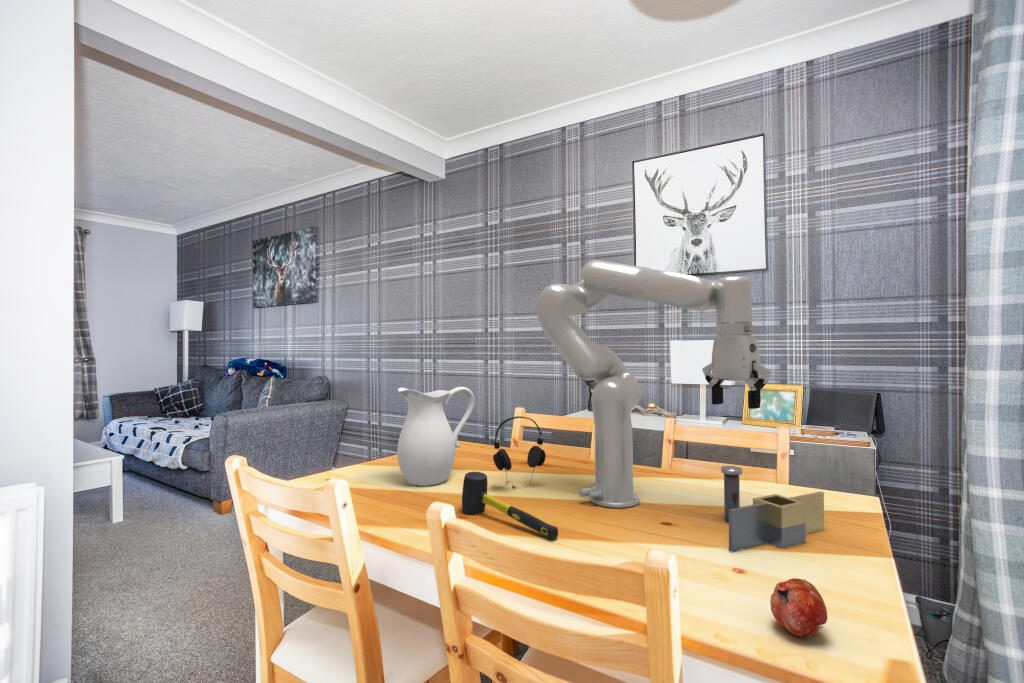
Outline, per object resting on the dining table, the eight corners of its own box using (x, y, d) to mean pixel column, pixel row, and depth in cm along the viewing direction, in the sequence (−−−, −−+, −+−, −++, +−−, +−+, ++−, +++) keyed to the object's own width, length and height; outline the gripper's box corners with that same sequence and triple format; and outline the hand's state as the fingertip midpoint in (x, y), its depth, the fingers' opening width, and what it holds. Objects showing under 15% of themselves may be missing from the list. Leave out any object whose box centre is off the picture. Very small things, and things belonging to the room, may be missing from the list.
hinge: (744, 558, 97) (744, 515, 97) (717, 545, 103) (716, 505, 103) (837, 534, 108) (837, 496, 108) (807, 523, 114) (807, 487, 114)
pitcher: (404, 492, 142) (402, 391, 142) (392, 477, 158) (391, 386, 157) (485, 481, 152) (484, 387, 152) (467, 468, 167) (466, 382, 167)
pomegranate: (793, 628, 78) (744, 592, 77) (824, 591, 77) (775, 554, 76) (825, 664, 70) (771, 625, 69) (860, 623, 70) (806, 583, 69)
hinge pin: (732, 525, 114) (732, 471, 114) (717, 519, 118) (716, 467, 118) (747, 522, 116) (746, 469, 116) (731, 516, 120) (730, 464, 120)
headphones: (533, 478, 154) (532, 411, 154) (549, 488, 144) (548, 416, 144) (485, 484, 149) (484, 414, 149) (497, 494, 139) (497, 420, 138)
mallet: (565, 537, 109) (564, 492, 109) (546, 545, 105) (545, 498, 105) (475, 506, 130) (475, 468, 130) (456, 512, 126) (456, 473, 126)
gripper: (779, 329, 112) (781, 408, 112) (713, 331, 127) (715, 401, 127) (757, 330, 108) (758, 411, 108) (692, 332, 124) (693, 403, 124)
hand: (735, 406), depth 118 cm, fingers open, 9 cm apart
